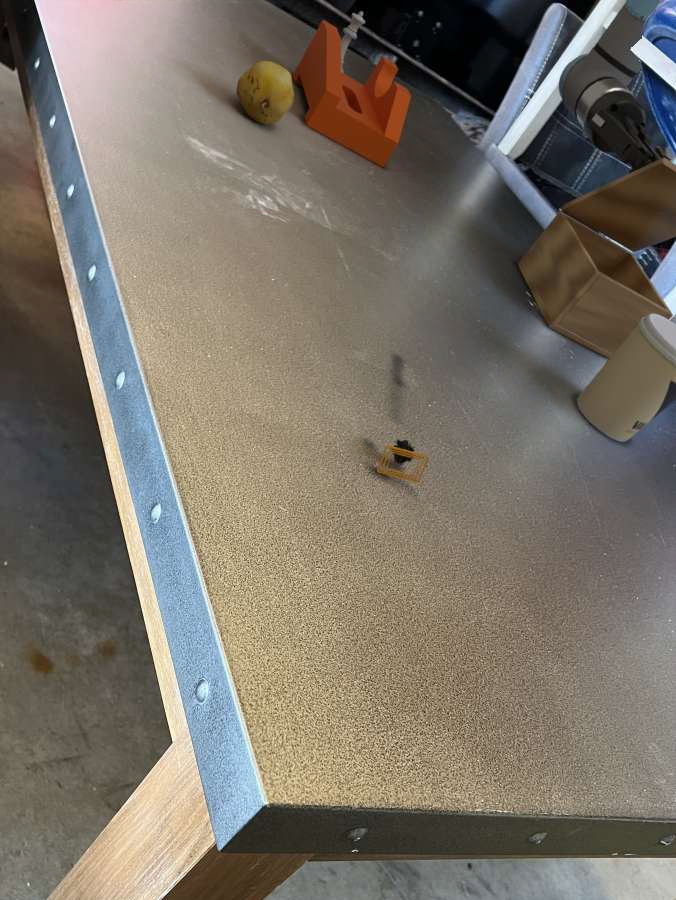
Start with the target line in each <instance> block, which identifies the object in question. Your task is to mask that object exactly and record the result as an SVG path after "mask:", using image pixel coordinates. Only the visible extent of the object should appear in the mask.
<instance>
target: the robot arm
mask: <svg viewBox="0 0 676 900" xmlns="http://www.w3.org/2000/svg"><path fill="white" fill-rule="evenodd" d="M659 3H660V0H625V2H624V3H623V5H622V7H621V8H620V10H619V11H618V12H617V14H616V15H615V16H614V18H613V19H612V21H611V22H610V24H609V25H608V26H607V28H606V29H605V31H604V32H603V33H602V35H601V36H600V37H599V39H598V40H597V42H596V43H595V45H594V46H593V47H592V48H591V49H590V51H589V52H588V53H583V54H580V55H578V56H577V57H575V58H574V59H572V60H571V61H570V62H568V63H567V64H566V66H564V67H563V70H562V72H561V74H560V76H559V80H558V94H559V96H560V98H561V100H562V103H563V105H564V107H565V109H566V110H567V112H569V113H570V114H571V115H572V116H573V118H574V119H575V120H576V122H577V123H578V124H579V126H580V127H581V128H582V130H583V132H582V137H583V138H585V139H587V138H588V139H589V140H590V142H591V143H592V144H593V146H594V147H595V149H597V150H598V151H600V152H601V153H604V154H610V155H611V154H616V155H617V156H618V157H619V158H620V160H621V162H622V163H624V164H626V165H628V164H629V165H630V166H631V168H630V169H629V171H628V172H627V174H630V173H632V172H634V171H636V170H638V169H640V168H642V167H644V166H647V165H649V164H651V163H653V162H655V161H657V160H659V159H661V158H663V157H664V158H666V159H668V160H669V161H672V159H671V158H670V157H669V156H668V155H667V152H668V151H667V150H666V149H665V148H664V147H660V146H658V145H656V146H655V147H653V146H652V143H653V140H652V138H651V137H650V136H649V135H648V130H647V128H645V127H646V120H647V115H646V111H645V108H644V106H643V105H642V104H641V103H640V102H639V100H638V99H637V98H636V97H635V95H634V94H633V92H632V91H630V89H629V88H628V87H627V86H628V85H630V83H631V82H632V80H633V79H634V78H635V77H636V76H637V75H638V73H639V72H640V70H641V69H643V67H642V64H641V62H640V61H639V59H638V58H637V57H636V56H635V55H634V54H633V52H632V51H631V50H630V49H631V47H633V46H634V45H635V44H636V43H637V42H638V41H639V40H640V39H642V33H641V31H642V28H643V25H644V23H645V21H646V19H647V18H648V16H649V15H650V14H651V13H652V12H653V11H654V9H655V8H656V7H657V5H658V4H659Z"/></svg>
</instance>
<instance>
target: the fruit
mask: <svg viewBox="0 0 676 900" xmlns="http://www.w3.org/2000/svg"><path fill="white" fill-rule="evenodd" d="M236 95H237V97H238V99H239V101H240V103H241V105H242V108H243V110H244V111H245V113H246V115H247V116H249V117H250V118H252V119H253V120H254V121H256V122H257V123H259V124H261V125H273V124H275V123H277V122H279V121H281V119H282V118H283V117H284V116H285V115H286V114H287V113H288V112H289V110H290V109H291V108H292V106H293V104H294V100H295V93H294V86H293V76H292V74H291V72H290V71H289V70H287V69H286V68H285V67H283V66H281V65H280V64H278V63H276V62H273V61H270V60H261V61H259V62H256V63H255V64H254V65H253V66H252V67H250V68H249V69H248V70H246V71H244V73H243V74H242V75H241V76H240V77H239V78H238V80H237V82H236Z"/></svg>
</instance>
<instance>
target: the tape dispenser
mask: <svg viewBox="0 0 676 900" xmlns="http://www.w3.org/2000/svg"><path fill="white" fill-rule="evenodd" d="M341 40H342V38H341V35H340V33H339V31H338V28H337V26H334V25H333V24H331V23H329V22H328V21H327V20H325V19H322V20H321V22H320V24H319V25H318V27H317V29H316V31H315V32H314V36H312V39H311V40H310V42H309V44H308V45H307V48H306V50H305V52H304V54H303V55H302V57H301V59H300V61H299V63H298V65H297V67H296V68H295V71H294V72H293V73H292V79H293V82H294V83H295V84H297V85H298V86H300V87H302V88H303V91H304V94H305V98H306V101H307V104H308V110H307V112H306V114H305V115H304V120H305V125H306V126H307V127H309V128H311V129H313V130H315V131H316V132H318V133H320V134H322V135H324V136H325V137H327V138H329V139H331V140H333V141H335V142H336V143H338V144H340V145H342V146H343V147H345V148H347V149H349V150H351V151H353V152H354V153H357V154H359V155H360V156H362V157H363V158H365V159H366V160H369V161H371V162H373V163H374V164H377V165H378V166H380V167H382V168H384V167H385V165H386V164H387V162H388V160H389V159H390V157H391V156H392V154H393V153H394V151H395V149H396V148H397V146H398V144H400V139H401V135H402V132H403V128H404V125H405V121H406V117H407V113H408V110H409V106H410V102H411V98H412V95H411V93H410V91H409V89H408V88H407V87H405V86H403V85H401V84H400V83H398V82H396V81H395V80H394V79H395V78H396V75H397V74H398V71H399V68H398V66H397V64H396V62H394V61H392V60H391V59H389V58H387V57H386V56H384V55H381V57H380V58H379V59H378V62H377V63H376V65H375V67H374V68H373V70H372V72H371V74H370V75H369V77H368V79H367V80H366V82H365V83H364V84H363V83H361V82H359V81H357V80H356V79H354V78H352V77H350V76H349V75H347V74H345V73H344V72H343V73H342V72H341Z"/></svg>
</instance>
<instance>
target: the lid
mask: <svg viewBox="0 0 676 900" xmlns="http://www.w3.org/2000/svg"><path fill="white" fill-rule="evenodd" d="M561 212H563V213H565V214H566V215H568V216H570V217H572V218H573V219H575V220H577V221H578V222H580V223H582V224H583V225H585V226H587V227H589V228H590V229H592V230H594V231H595V232H597V233H599V234H601V235H602V236H604V237H606V238H607V239H609V240H611V241H613V242H614V243H616V244H618V245H619V246H621V247H623V248H624V249H626V250H628V251H630V252H631V253H636V252H639V251H642V250H644V249H646V248H648V247H649V248H650V247H652V246H655V245H657V244H661V243H663V242H665V241H669V240H670V239H674V238H676V164H675V162H672V160H670V161H669V160H668V159H666V158H664V157H663V158H661V159H659V160H657V161H655V162H653V163H651V164H649V165H647V166H644V167H642V168H640V169H638V170H636V171H634V172H632V173H630V174H629V173H627V174H626V175H623V176H621V177H619V178H617V179H615V180H612V181H610V182H608V183H607V184H604V185H602V186H600V187H598V188H596V189H594V190H592V191H589V192H588V193H585V194H584V195H581V196H579V197H577V198H575V199H573V200H571V201H569V202H566V203H564V204H563V205H562V208H561Z"/></svg>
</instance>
